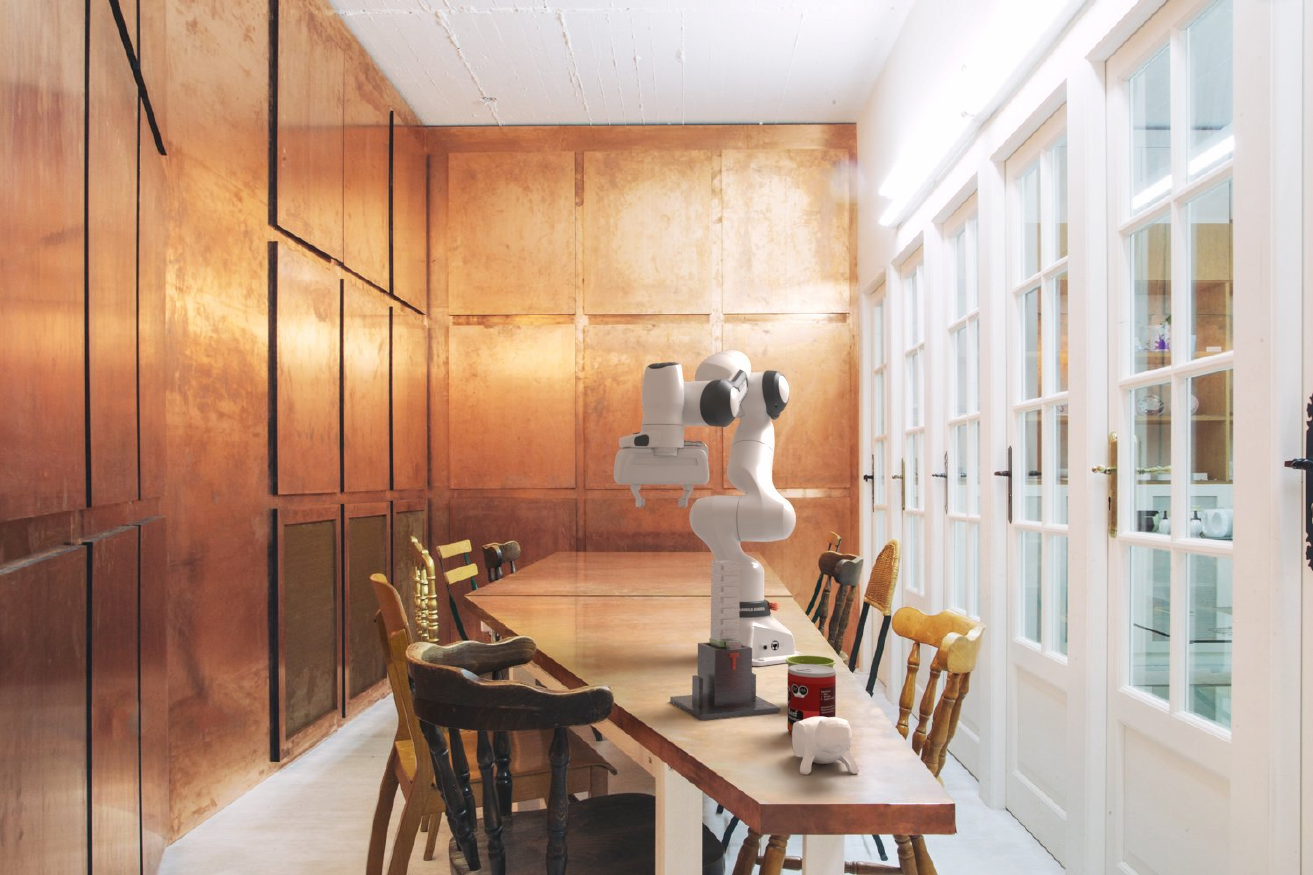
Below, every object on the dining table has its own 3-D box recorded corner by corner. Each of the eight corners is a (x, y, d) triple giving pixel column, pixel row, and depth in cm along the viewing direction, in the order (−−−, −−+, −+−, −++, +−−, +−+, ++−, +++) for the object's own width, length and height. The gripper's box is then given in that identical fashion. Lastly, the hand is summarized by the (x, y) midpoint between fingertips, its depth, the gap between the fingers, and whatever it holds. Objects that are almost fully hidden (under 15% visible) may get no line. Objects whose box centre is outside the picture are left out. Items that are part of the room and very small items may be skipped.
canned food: (784, 727, 154) (785, 663, 154) (831, 728, 153) (831, 664, 154) (790, 740, 146) (790, 672, 147) (839, 741, 146) (839, 673, 146)
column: (729, 665, 170) (730, 560, 171) (741, 670, 166) (741, 562, 167) (709, 666, 169) (710, 560, 170) (720, 671, 164) (721, 562, 165)
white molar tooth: (788, 778, 137) (812, 771, 123) (784, 720, 140) (806, 707, 127) (843, 777, 137) (872, 770, 124) (837, 720, 141) (865, 706, 127)
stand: (744, 695, 176) (745, 629, 177) (780, 712, 163) (780, 641, 164) (670, 701, 171) (671, 633, 171) (700, 720, 158) (701, 646, 158)
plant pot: (780, 708, 167) (780, 661, 167) (791, 697, 175) (791, 653, 176) (830, 714, 163) (830, 666, 164) (839, 702, 172) (839, 657, 172)
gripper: (702, 441, 191) (701, 506, 190) (611, 439, 183) (610, 506, 182) (714, 440, 185) (714, 507, 184) (621, 437, 177) (620, 507, 176)
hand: (661, 507), depth 183 cm, fingers open, 8 cm apart
